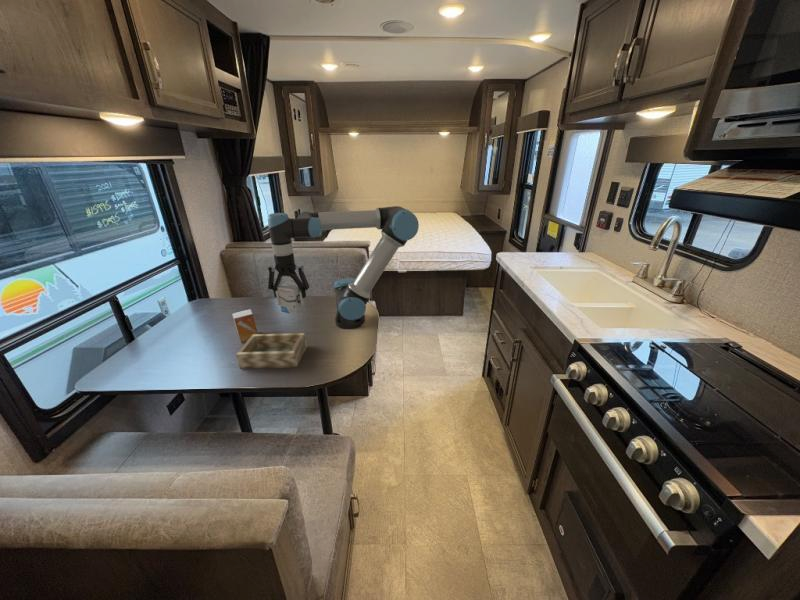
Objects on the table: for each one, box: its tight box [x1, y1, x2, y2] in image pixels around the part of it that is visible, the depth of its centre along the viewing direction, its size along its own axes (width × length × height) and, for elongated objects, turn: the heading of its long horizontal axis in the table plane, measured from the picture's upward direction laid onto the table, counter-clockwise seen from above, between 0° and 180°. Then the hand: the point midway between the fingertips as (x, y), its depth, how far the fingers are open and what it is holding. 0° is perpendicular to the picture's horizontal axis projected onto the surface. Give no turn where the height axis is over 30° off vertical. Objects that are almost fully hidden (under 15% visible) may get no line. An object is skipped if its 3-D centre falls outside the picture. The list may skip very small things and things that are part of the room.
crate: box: [235, 332, 308, 370], centre depth 130 cm, size 23×15×7 cm, turn 90°
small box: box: [231, 308, 259, 344], centre depth 144 cm, size 8×6×13 cm
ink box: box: [277, 276, 305, 316], centre depth 130 cm, size 9×5×15 cm, turn 69°
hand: (291, 304), depth 131 cm, fingers closed on ink box, 9 cm apart
